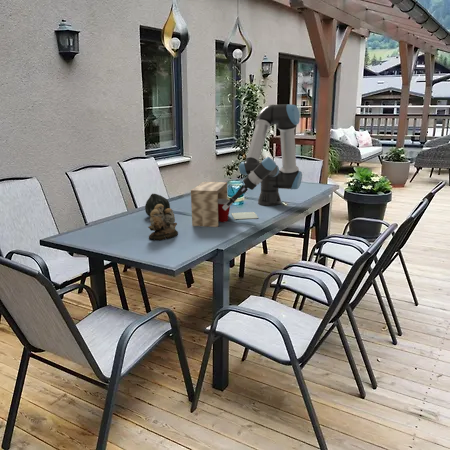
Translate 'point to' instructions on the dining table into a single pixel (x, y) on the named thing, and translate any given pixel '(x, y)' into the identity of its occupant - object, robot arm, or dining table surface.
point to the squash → (155, 203)
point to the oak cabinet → (207, 203)
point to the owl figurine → (162, 223)
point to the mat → (244, 215)
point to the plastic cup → (222, 210)
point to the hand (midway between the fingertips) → (226, 206)
